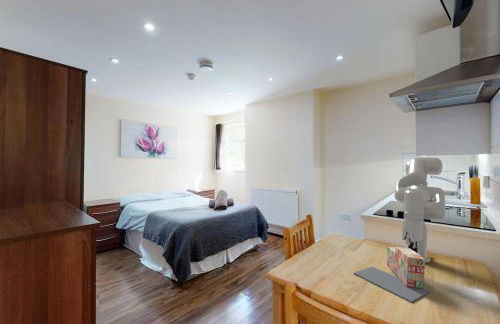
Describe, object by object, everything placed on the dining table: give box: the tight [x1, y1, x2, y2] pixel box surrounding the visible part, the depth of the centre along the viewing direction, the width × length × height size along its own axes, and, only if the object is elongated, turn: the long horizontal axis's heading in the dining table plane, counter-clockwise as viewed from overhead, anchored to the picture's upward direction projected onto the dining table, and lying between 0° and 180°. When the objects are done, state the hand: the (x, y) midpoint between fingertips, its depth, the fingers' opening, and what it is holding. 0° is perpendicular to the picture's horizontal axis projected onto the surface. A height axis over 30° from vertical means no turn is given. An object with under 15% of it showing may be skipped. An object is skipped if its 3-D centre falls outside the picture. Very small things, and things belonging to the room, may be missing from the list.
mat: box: [353, 266, 431, 304], centre depth 98 cm, size 14×24×1 cm, turn 29°
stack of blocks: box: [386, 246, 426, 289], centre depth 103 cm, size 21×6×12 cm, turn 168°
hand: (412, 255), depth 107 cm, fingers closed
